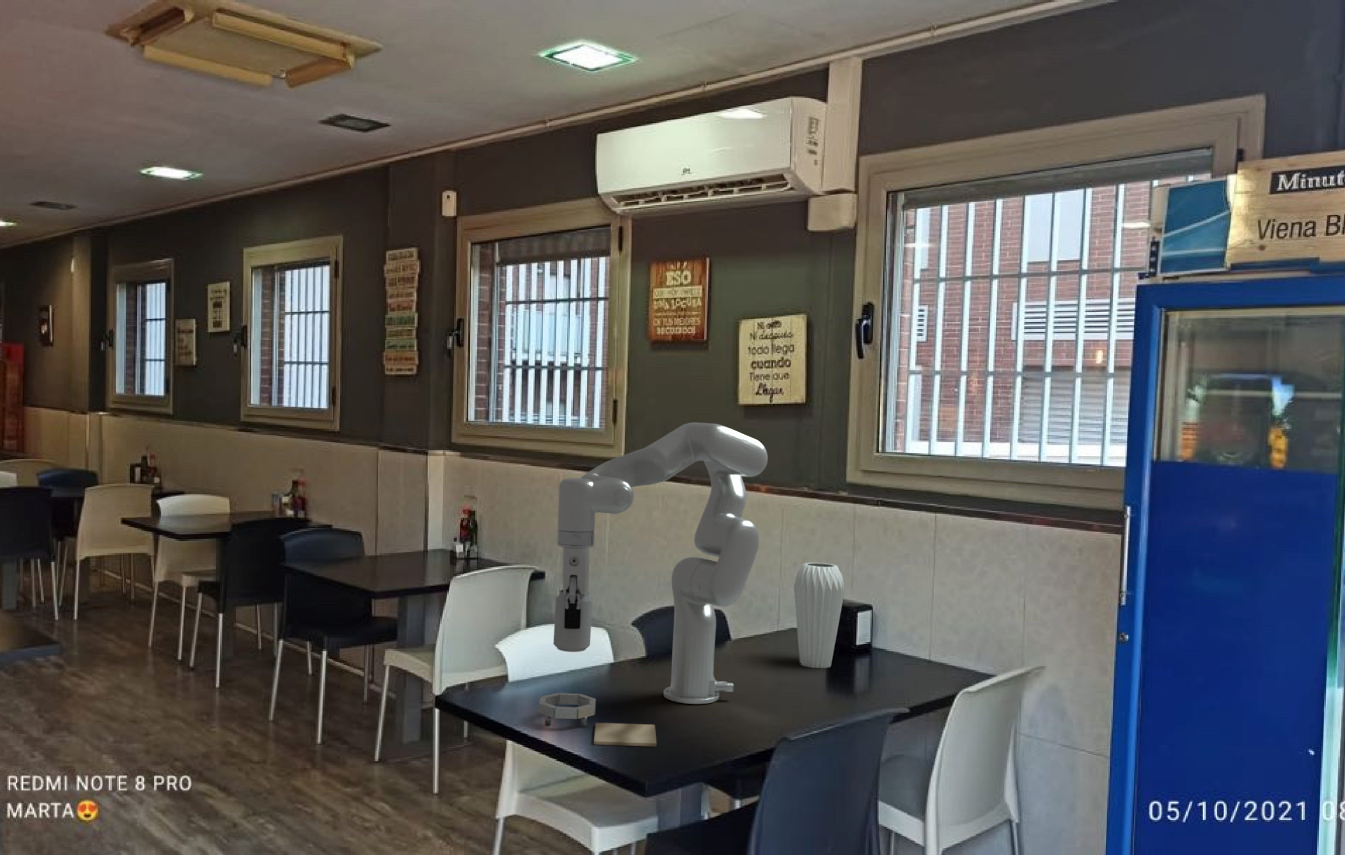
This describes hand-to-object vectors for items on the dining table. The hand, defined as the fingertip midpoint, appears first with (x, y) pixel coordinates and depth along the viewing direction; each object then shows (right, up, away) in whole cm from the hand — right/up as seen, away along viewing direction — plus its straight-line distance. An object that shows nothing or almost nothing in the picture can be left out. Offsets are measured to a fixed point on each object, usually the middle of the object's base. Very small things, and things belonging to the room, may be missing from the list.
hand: (573, 623), depth 216 cm
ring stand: (-1, -20, 0) cm, 20 cm away
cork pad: (+11, -21, -8) cm, 25 cm away
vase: (+58, -22, +60) cm, 86 cm away
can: (0, -5, 0) cm, 5 cm away
